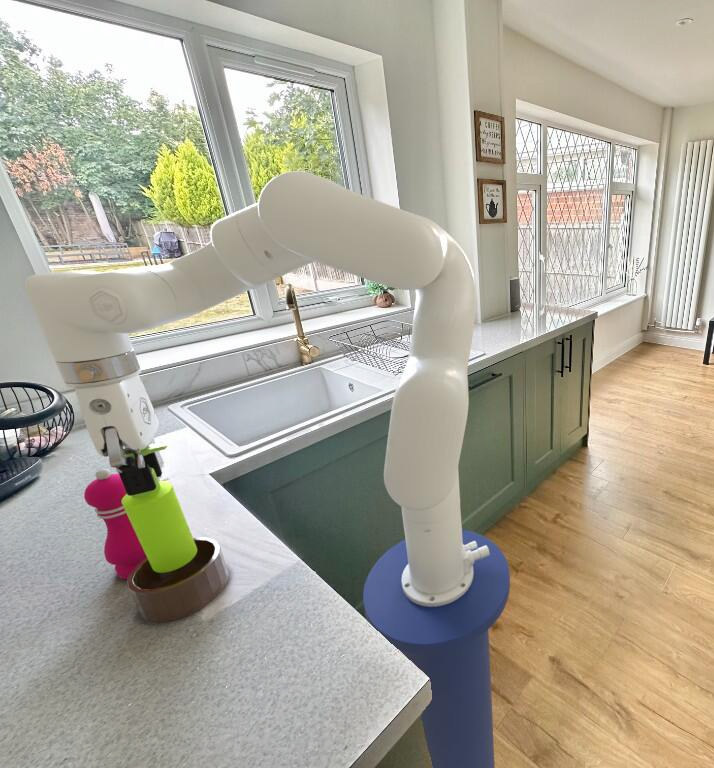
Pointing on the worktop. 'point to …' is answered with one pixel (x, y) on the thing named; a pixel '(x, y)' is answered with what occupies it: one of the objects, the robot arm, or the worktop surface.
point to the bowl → (179, 584)
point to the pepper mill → (115, 522)
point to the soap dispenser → (160, 523)
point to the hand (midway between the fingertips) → (145, 483)
